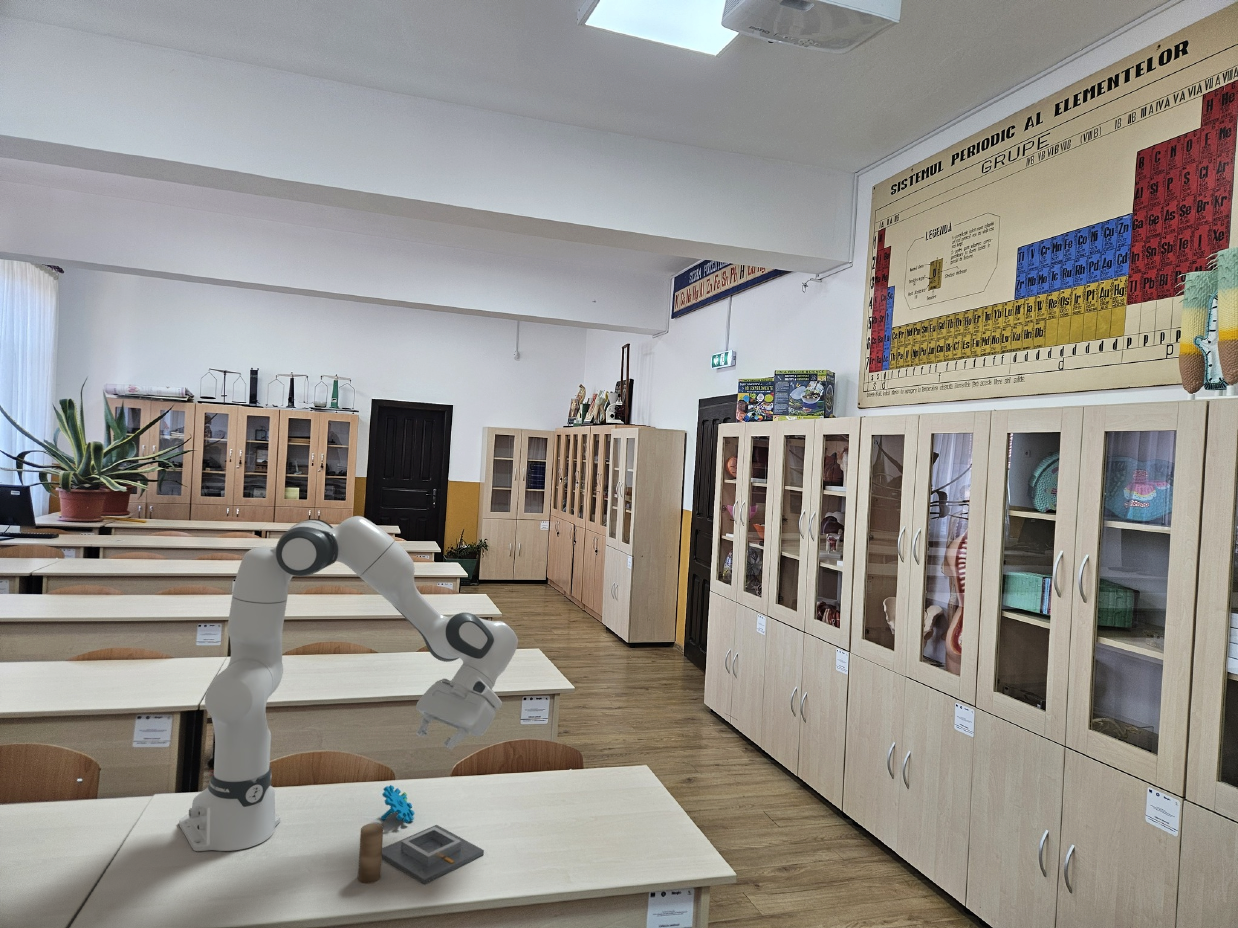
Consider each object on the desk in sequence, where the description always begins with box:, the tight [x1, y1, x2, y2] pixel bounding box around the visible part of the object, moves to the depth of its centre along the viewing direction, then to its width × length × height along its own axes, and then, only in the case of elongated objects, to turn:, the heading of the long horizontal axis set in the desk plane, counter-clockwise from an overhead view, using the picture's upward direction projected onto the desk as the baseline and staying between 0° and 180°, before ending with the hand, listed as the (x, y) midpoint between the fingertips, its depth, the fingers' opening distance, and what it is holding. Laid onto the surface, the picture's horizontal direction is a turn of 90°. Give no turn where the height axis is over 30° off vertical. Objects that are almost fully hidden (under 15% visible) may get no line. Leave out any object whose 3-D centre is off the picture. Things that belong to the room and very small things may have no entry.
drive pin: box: [357, 823, 384, 884], centre depth 158 cm, size 4×4×10 cm
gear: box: [380, 784, 415, 824], centre depth 183 cm, size 11×6×10 cm
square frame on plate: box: [382, 824, 485, 885], centre depth 168 cm, size 16×16×3 cm
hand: (433, 741), depth 170 cm, fingers open, 8 cm apart
